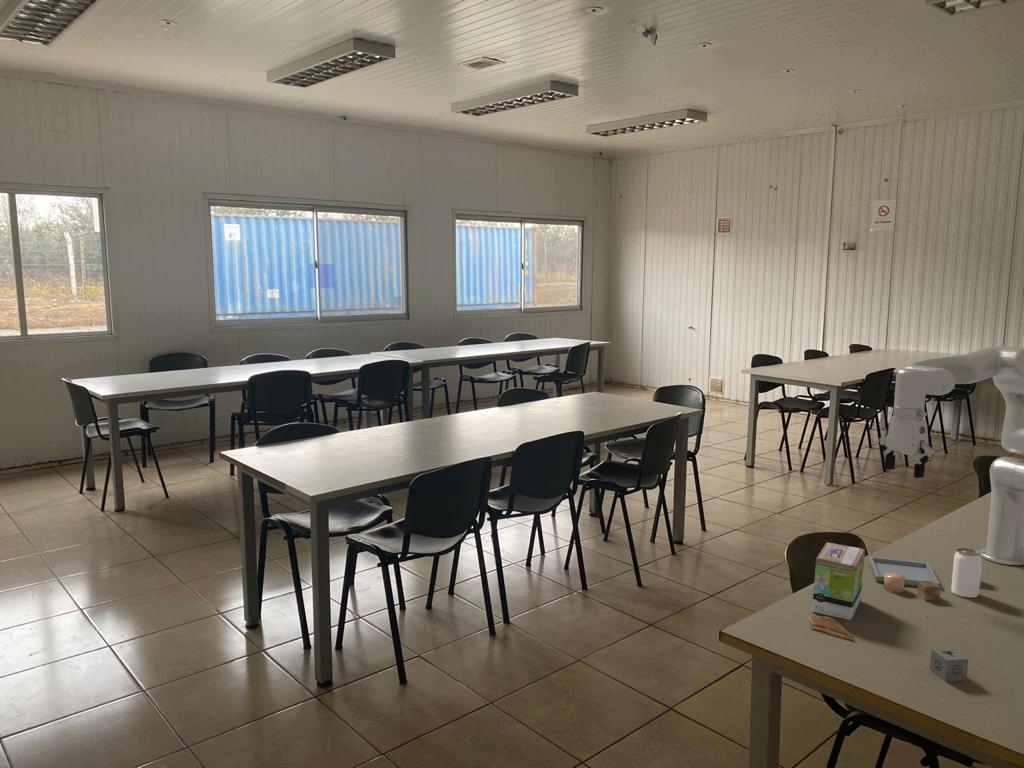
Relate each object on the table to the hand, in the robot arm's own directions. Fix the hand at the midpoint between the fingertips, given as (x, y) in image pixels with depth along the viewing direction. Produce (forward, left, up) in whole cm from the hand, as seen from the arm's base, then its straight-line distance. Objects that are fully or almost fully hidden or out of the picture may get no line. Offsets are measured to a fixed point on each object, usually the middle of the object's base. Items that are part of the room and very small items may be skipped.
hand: (903, 473), depth 214 cm
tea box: (+18, +25, -32) cm, 44 cm away
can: (-16, +5, -31) cm, 36 cm away
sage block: (-19, -5, -31) cm, 37 cm away
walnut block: (-6, +11, -31) cm, 34 cm away
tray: (-2, -4, -31) cm, 32 cm away
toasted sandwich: (+20, +39, -32) cm, 54 cm away
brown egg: (+2, +8, -31) cm, 32 cm away
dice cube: (-2, +55, -32) cm, 63 cm away
